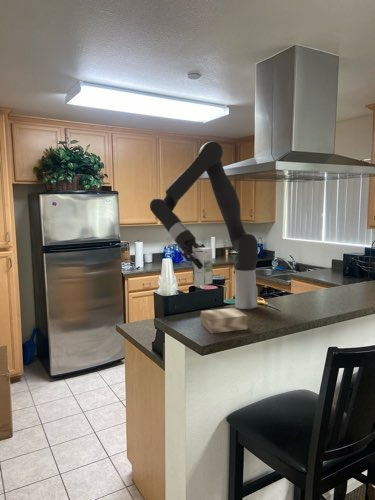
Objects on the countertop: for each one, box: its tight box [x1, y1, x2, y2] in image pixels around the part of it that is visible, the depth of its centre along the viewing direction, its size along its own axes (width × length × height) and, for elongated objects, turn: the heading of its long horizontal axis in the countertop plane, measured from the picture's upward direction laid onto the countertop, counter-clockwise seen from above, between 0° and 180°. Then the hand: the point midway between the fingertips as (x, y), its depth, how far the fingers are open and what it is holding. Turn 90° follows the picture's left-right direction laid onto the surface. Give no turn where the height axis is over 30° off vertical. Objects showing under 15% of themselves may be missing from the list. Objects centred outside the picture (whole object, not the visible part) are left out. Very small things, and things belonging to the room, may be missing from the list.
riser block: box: [200, 307, 248, 334], centre depth 136 cm, size 14×12×5 cm
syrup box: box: [192, 246, 214, 287], centre depth 143 cm, size 6×6×14 cm
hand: (206, 266), depth 142 cm, fingers closed on syrup box, 5 cm apart
